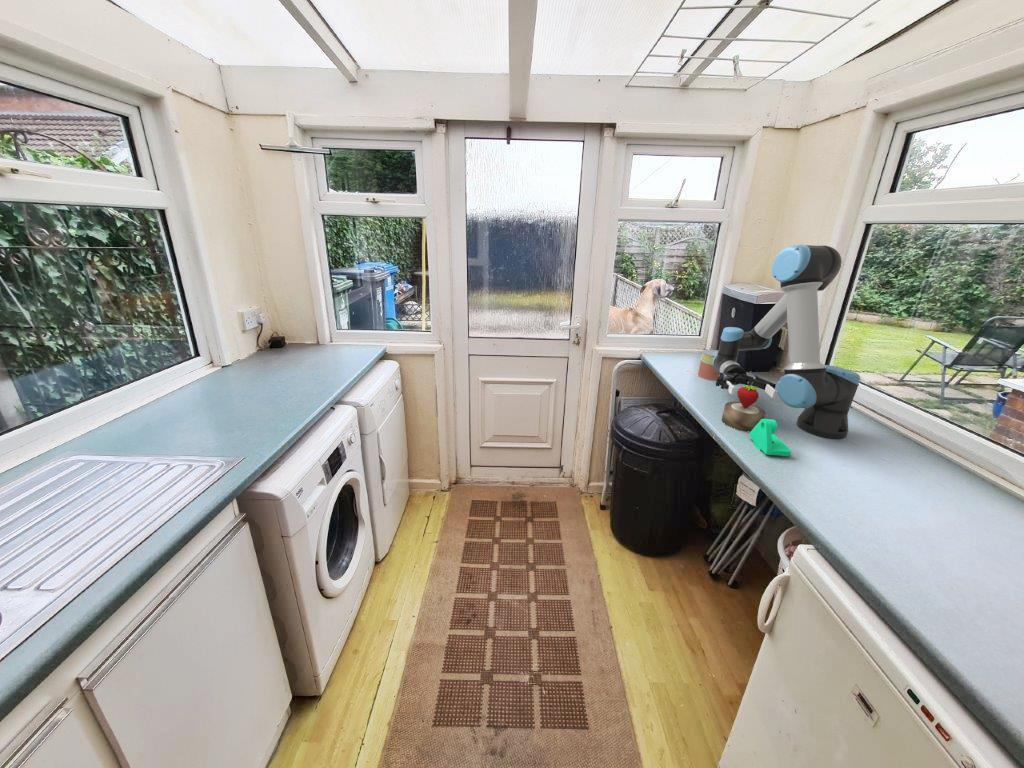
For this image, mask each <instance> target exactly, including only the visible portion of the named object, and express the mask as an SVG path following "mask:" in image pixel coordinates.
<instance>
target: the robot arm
mask: <svg viewBox="0 0 1024 768" xmlns="http://www.w3.org/2000/svg"><path fill="white" fill-rule="evenodd" d="M773 259H774V260H773V261H772V265H771V274H772V276H773V278H775V280H776V281H778V282H780V283H779V284H780V290H781V291H782V292H784V294H783V296H782V297H781V298H780V299H779V300H778V301H777V302H776V303H775V304H774V305H773V307H772V308H771V309H769V311H768V312H767V313H766V314H765V315H764V317H762V318H761V319H760V321H759V322H757V324H756V325H755V326H754V327H753V328H752V329H751V330H750V331H744V330H743V329H742V328H740V327H734V326H728V327H727V326H726V327H724V328H723V330H722V332H721V336H720V339H719V340H720V341H719V344H718V345H719V346H718V349H717V350H718V354H717V355H716V356H715V357H714V358H713V361H712V364H713V366H714V368H715V370H716V371H718V372H719V377H718V378H717V381H715V387H720V389H721V390H726V391H727V392H728V393H729V394H730V395H732V396H733V395H734V393H735V389H736V387H735V385H746V386H747V385H748V386H751V387H752V386H753V387H757V388H756V389H761V390H763V391H764V392H765V393H766V394H767V395H768V396H769V397H770V398H771V399H775V398H776V395H777V396H778V397H779V399H780V400H781V401H782V402H783V403H784V404H785V405H786V406H787V407H790V408H794V409H803V410H802V412H801V413H800V414H799V415H798V417H797V419H796V426H797V427H798V428H800V429H801V430H802V431H805V432H806V433H809V434H811V435H814V436H817V437H822V438H827V439H832V440H833V439H834V440H835V439H836V440H837V439H838V440H840V439H841V440H842V439H846V438H847V436H848V433H849V430H850V429H849V420H848V419H849V417H848V416H849V415H848V414H849V411H850V410H851V409H850V408H851V406H852V404H853V401H854V398H855V396H856V393H857V390H858V387H859V386H860V381H861V375H860V374H859V373H857V372H856V371H852V370H851V369H846V368H843V367H838V366H834V365H829V364H823V363H822V362H821V354H820V353H821V352H820V350H821V349H820V348H821V347H820V329H819V327H820V325H819V300H818V297H819V295H818V292H821V291H824V290H825V289H826V288H827V287H828V286H829V285H830V284H831V283H832V282H833V281H834V280H835V278H836V277H837V276H838V275H839V273H840V270H841V267H842V262H843V261H842V256H841V254H840V253H839V251H838V250H837V249H835V248H834V247H832V246H828V245H809V244H797V245H795V244H794V245H789V246H787V247H785V248H783V249H782V250H780V251H779V252H778V253H777V255H776V256H775V257H774V258H773ZM786 323H787V346H788V347H787V348H788V364H787V365H786V366H785V367H784V368H783V373H784V374H783V375H782V376H781V377H780V379H779V380H778V382H777V383H774V382H772V381H769V380H766V379H764V378H761V377H760V376H758V375H753V376H750V375H748V374H747V371H746V369H744V368H743V367H742V366H741V365H740V364H739V363H738V362H737V360H738V356H739V353H740V351H741V352H742V351H755V350H756V351H759V350H763V349H764V350H765V349H768V348H769V347H770V346H771V344H772V342H773V336H774V335H775V334H777V332H779V331H780V330H781V328H783V326H785V325H786ZM752 382H753V383H752ZM751 384H752V385H751Z"/></svg>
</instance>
